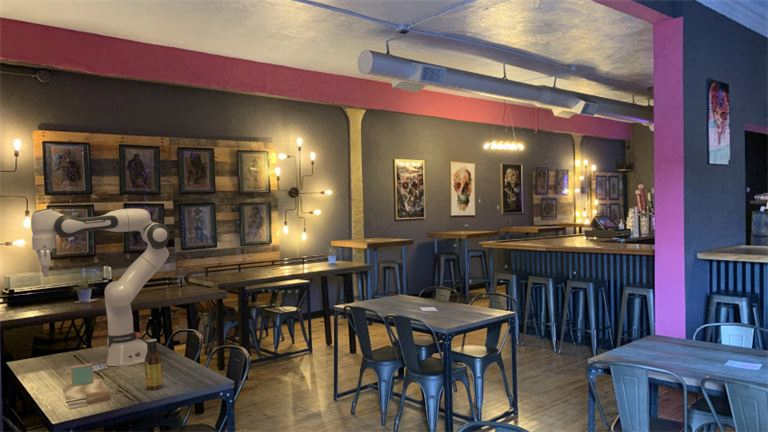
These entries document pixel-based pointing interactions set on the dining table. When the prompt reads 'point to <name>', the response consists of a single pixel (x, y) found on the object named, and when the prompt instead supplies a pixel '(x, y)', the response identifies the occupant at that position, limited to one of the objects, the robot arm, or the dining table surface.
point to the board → (82, 390)
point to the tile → (82, 375)
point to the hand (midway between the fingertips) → (45, 275)
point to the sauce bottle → (153, 366)
